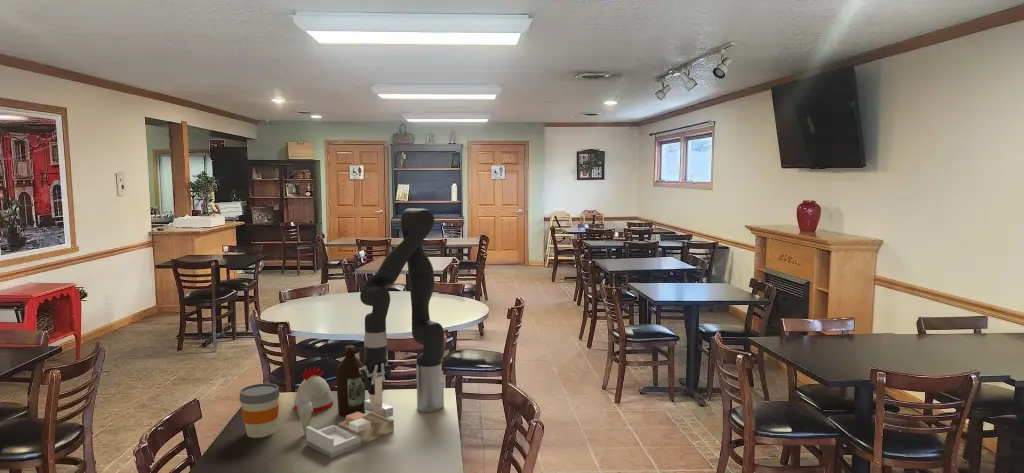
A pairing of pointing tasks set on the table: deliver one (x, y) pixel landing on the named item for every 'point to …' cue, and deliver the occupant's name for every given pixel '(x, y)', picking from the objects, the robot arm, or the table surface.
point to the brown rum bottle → (350, 384)
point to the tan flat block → (372, 427)
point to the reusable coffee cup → (260, 409)
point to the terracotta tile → (355, 416)
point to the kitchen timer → (314, 391)
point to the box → (332, 440)
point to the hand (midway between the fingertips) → (376, 392)
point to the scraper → (378, 401)
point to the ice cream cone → (305, 411)
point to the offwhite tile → (359, 425)
